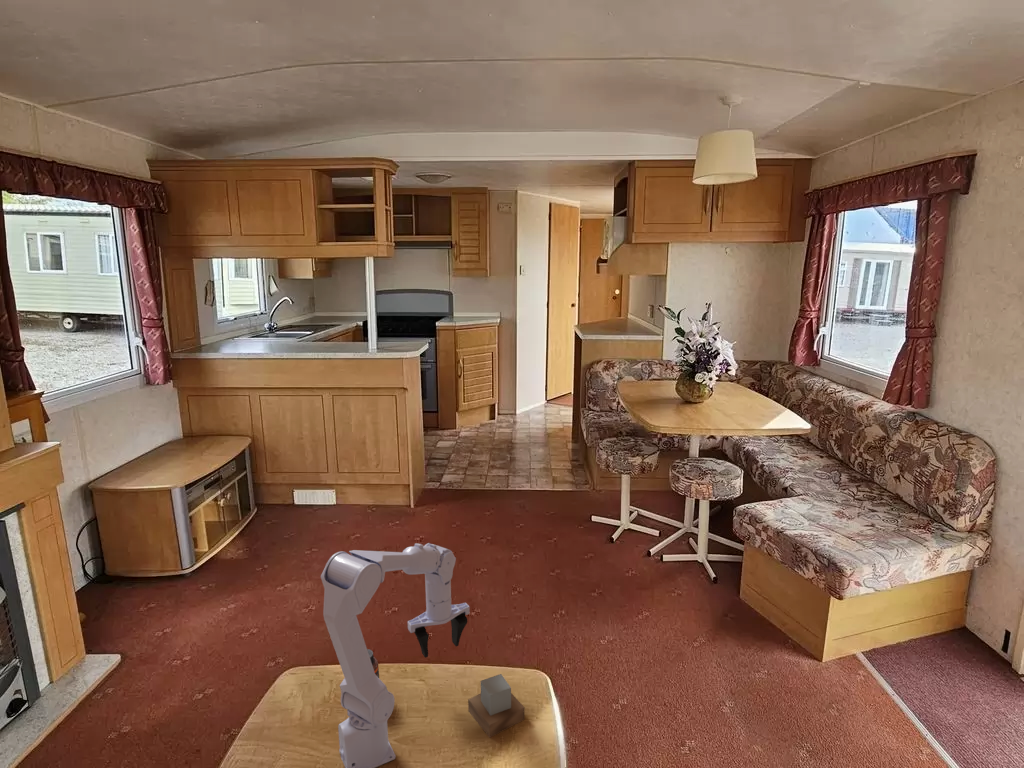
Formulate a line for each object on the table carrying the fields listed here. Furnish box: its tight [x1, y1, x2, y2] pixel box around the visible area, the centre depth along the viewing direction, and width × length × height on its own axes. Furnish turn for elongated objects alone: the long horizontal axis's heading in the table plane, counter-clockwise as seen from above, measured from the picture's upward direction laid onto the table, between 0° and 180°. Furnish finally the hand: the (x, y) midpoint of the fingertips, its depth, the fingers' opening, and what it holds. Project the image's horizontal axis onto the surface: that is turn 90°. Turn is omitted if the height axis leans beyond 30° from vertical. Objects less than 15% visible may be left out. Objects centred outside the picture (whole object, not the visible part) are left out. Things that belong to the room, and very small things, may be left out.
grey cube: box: [480, 673, 512, 716], centre depth 128 cm, size 5×5×5 cm
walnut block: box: [467, 692, 525, 738], centre depth 130 cm, size 9×9×4 cm
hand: (440, 649), depth 136 cm, fingers open, 7 cm apart
